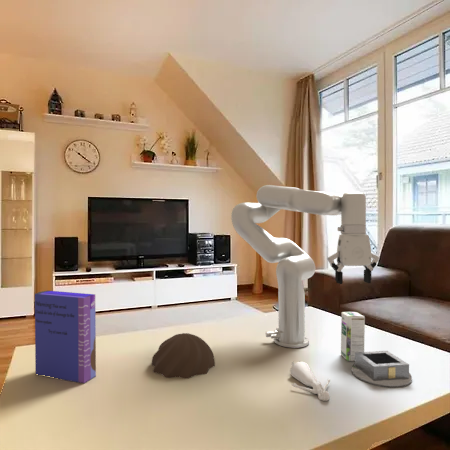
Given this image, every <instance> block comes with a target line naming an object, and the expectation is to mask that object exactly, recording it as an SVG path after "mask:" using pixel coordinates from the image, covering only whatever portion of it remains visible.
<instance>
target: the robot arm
mask: <svg viewBox="0 0 450 450" xmlns="http://www.w3.org/2000/svg"><path fill="white" fill-rule="evenodd" d="M366 197H367V196H366V195H365V193H363V192H360V191H356V192H355V191H353V192H349V191H348V192H344V193H343V194H341V193H335V192H327V191H326V192H325V191H316V190H309V189H308V190H307V189H301V188H298V187H292V186H284V185H283V186H282V185H273V184H266V185H263V186H260V187H259V189H258V190H257V192H256V200H257V202H247V201H246V202H240V203H238V204H236V205H235V206H234V207H233V209H231V211H232V212H231V217H230V219H231V223H232V224H231V225H232V226H233V229H234V230H235V232H236V233H237V235H239V236H240V238H242V239H243V240H244V241H245V242H246V243H247V244H248V245H249V246H250V247H251V248H252V249H253V250H254V252H256V253H257V254H259V256H260V257H261V258H262V259H263V260H265V261H266V262H267V263H269V264H275V263H277V265H276V268H275V275H276V280H277V281H276V282H277V288H278V292H277V293H278V297H277V298H278V299H277V300H278V327H276V329H275V330H273V331H265V337H266V338H270V339H273V340H274V341H273V342H274V343H275V344H276V345H278V346H280V347H284V348H290V349H291V348H293V349H297V348H305V347H307V346H308V345H309V344H310V339H309V338H308V337H307V336H306V334H305V331H306V329H305V326H306V325H305V323H306V321H305V317H306V315H305V314H306V313H305V310H306V305H305V304H306V301H305V300H306V299H305V295H306V294H305V288H304V285H303V281H305V280H308V279H310V278H312V277H313V276H314V274H315V273H316V264H315V261H314V259H313V258H312V257H311V256H310V255H309V253H306V251H304V250H303V249H302V248H301V247H300V246H299V245H297V244H296V242H294V241H293V240H291V239H289V238H286V237H274V236H273V235H272V234H270V233H269V232H268V231H266V229H264V228H263V226H262V227H261V226H260V225H258V224H263V223H265V222H267V221H269V219H271V218H272V217H273V216H275V215H276V214H277V213H278V212H280V211H281V210H285V211H291V212H299V213H304V214H305V213H306V214H312V215H318V216H341V217H340V218H341V219H340V220H341V221H340V222H341V224H340V226H339V227H337V231H338V232H340V234H339V236H338V241H337V247H336V252H335V253H334V254H332V255H329V257H327V258H326V259H327V261H328V264H329V266H330V267H331V268H332V269H333V270H334V272H335V275H334V278H335V282H336V284H339V285H342V284H343V280H344V279H343V276H344V275H343V274H344V273H343V271H342V270H343V268H344V267H345V266H346V267H358V266H359V267H363V268H364V270H363V282H364V283H367V284H371V283H372V271H374V268H375V267H376V266H377V263H378V261H379V259H380V256H378V255H375V254H374V253H372V249H371V248H372V247H371V240H370V236H369V234H367V230H366V229H367V228H366V224H367V223H366V222H367V220H366V219H367V218H366V216H367V212H366V211H367V198H366ZM335 260H336V263H335Z"/></svg>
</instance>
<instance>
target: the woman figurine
mask: <svg viewBox="0 0 450 450" xmlns="http://www.w3.org/2000/svg"><path fill="white" fill-rule="evenodd" d="M289 372H290V375H291V376H292V377H293V378H294V379H296V381H298V382H300V383H301V384H303V385H305V386H306V387H305V386H301V385H298V384H297V383H296V382H293V383H291V385H290V386H292V387H295V388H299V389H302V390H304V391H307V392H310V393H312V394H313V395H317V397H318V400H319V401H323V402H327V401H330V397H331V396H330V392H329V391H328V390H326V389H327V388H328V386H329V384H330V382H331V379H327V382H326V383H325V384H324V385H322V383H321V382H320V381H318V379H317V378H316V376H315V374H314V372H313V371H312V368H310V366H309V364H308V363H307V362H305V361H301V360H300V361H297V362H294V361H293V362H291V367H290V370H289ZM310 387H311V388H310Z"/></svg>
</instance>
